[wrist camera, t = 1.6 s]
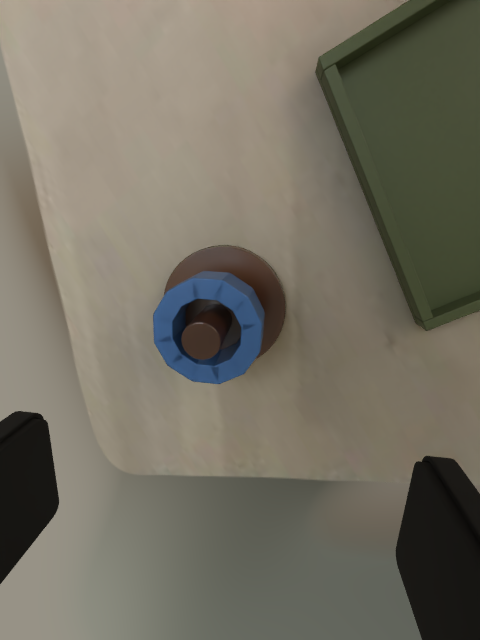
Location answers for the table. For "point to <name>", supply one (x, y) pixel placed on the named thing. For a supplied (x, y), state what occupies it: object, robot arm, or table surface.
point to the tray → (417, 145)
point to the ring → (226, 360)
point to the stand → (215, 318)
